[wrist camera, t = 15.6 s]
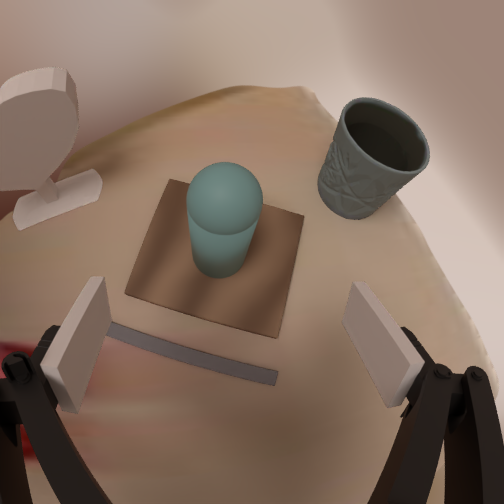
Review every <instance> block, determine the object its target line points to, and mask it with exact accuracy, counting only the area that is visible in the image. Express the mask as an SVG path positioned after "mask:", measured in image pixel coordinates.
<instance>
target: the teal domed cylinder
mask: <svg viewBox="0 0 504 504" xmlns="http://www.w3.org/2000/svg"><path fill="white" fill-rule="evenodd" d="M186 204H187V214H188V223H189V232H190V240H191V249H192V256H193V261H194V263H195V265H196V267H197V268H198V269H199V270H200V271H201V272H202V273H203V274H205V275H207V276H209V277H212V278H218V279H219V278H226V277H229V276H232V275H233V274H235V273H236V272H237V271H238V270H239V269H240V268H241V267H242V265H243V263H244V260H245V257H246V254H247V251H248V248H249V245H250V242H251V239H252V236H253V234H254V231H255V228H256V225H257V222H258V219H259V216H260V213H261V210H262V205H263V195H262V190H261V187H260V184H259V182H258V181H257V179H256V178H255V176H254V175H253V174H252V173H251V172H250V171H249V170H247V169H246V168H244V167H242V166H240V165H238V164H235V163H230V162H220V163H215V164H212V165H209V166H207V167H205V168H204V169H202V170H201V171H200V172H199V173H198V174H197V175H196V176H195V177H194V178H193V180H192V181H191V183H190V185H189V188H188V191H187V198H186Z"/></svg>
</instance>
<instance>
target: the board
mask: <svg viewBox="0 0 504 504" xmlns="http://www.w3.org/2000/svg"><path fill="white" fill-rule="evenodd" d="M189 185H190V184H189V183H185V182H181V181H177V180H173V179H169V182H168V184H167V186H166V188H165V190H164V193H163V195H162V197H161V200H160V202H159V204H158V207H157V209H156V211H155V214H154V216H153V219H152V221H151V223H150V226H149V228H148V231H147V233H146V236H145V238H144V241H143V243H142V246H141V249H140V251H139V254H138V256H137V259H136V262H135V264H134V267H133V270H132V273H131V275H130V278H129V281H128V284H127V287H126V290H125V292H124V293H125V294H126V295H129V296H132V297H135V298H138V299H141V300H144V301H147V302H150V303H153V304H156V305H159V306H162V307H165V308H168V309H171V310H175V311H178V312H181V313H184V314H188V315H191V316H194V317H198V318H201V319H204V320H208V321H211V322H215V323H218V324H222V325H225V326H229V327H233V328H236V329H240V330H244V331H247V332H251V333H255V334H259V335H263V336H267V337H271V338H275V339H276V338H277V337H278V333H279V329H280V325H281V320H282V316H283V312H284V307H285V303H286V299H287V294H288V290H289V285H290V281H291V276H292V271H293V267H294V262H295V257H296V253H297V248H298V243H299V238H300V233H301V228H302V223H303V218H304V216H303V215H299V214H296V213H293V212H289V211H286V210H283V209H279V208H276V207H272V206H269V205H266V204H263V205H262V210H261V213H260V216H259V219H258V222H257V225H256V228H255V231H254V234H253V236H252V239H251V242H250V245H249V248H248V251H247V254H246V257H245V260H244V263H243V265H242V267H241V268H240V269H239V270H238V271H237V272H236V273H235V274H233V275H232V276H229V277H226V278H219V279H218V278H212V277H209V276H207V275H205V274H203V273H202V272H201V271H200V270H199V269H198V268H197V267H196V265H195V263H194V261H193V256H192V249H191V240H190V232H189V223H188V214H187V204H186V198H187V191H188V188H189Z"/></svg>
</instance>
